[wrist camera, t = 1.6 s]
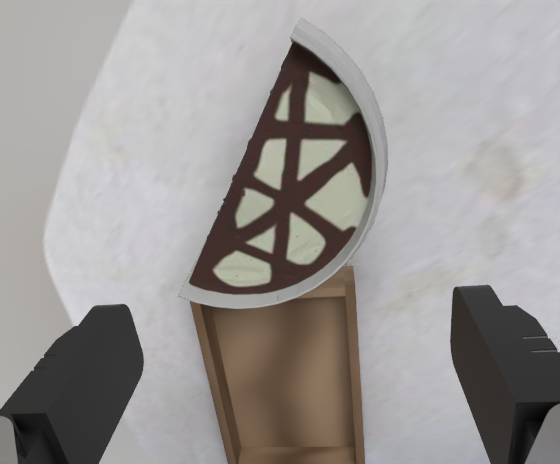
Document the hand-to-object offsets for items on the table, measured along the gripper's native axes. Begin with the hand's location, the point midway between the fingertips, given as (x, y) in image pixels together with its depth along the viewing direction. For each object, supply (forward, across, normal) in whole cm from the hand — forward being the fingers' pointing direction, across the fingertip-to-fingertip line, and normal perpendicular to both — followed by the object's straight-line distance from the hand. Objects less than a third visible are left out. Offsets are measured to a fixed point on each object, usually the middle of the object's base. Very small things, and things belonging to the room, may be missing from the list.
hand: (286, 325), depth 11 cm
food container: (+17, 0, 0) cm, 17 cm away
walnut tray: (+17, +3, +16) cm, 23 cm away
